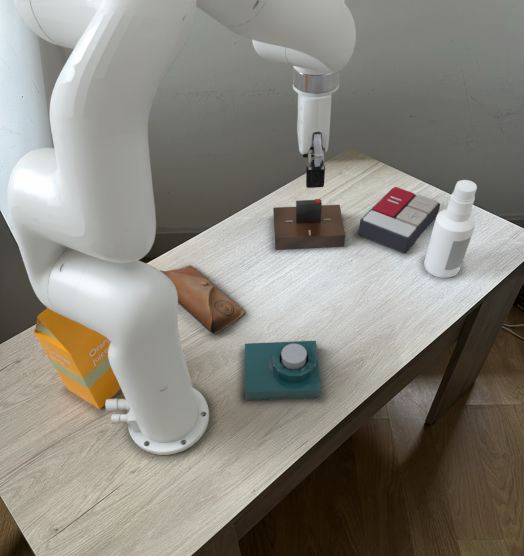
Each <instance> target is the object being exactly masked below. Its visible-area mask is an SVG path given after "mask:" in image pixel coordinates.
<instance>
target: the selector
mask: <svg viewBox="0 0 524 556" xmlns="http://www.w3.org/2000/svg"><path fill="white" fill-rule="evenodd" d="M272 211H273V235H274V237H273V238H274V250H276V251H277V250H301V249H302V250H303V249H323V248H344V247H345V243H346V230H345V226H344V220H343V214H342V210H341V205H340V204H322V209H321V222H311V223H296V206H280V207H273V208H272Z"/></svg>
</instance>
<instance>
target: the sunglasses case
mask: <svg viewBox="0 0 524 556" xmlns="http://www.w3.org/2000/svg"><path fill="white" fill-rule="evenodd" d="M159 271H161V272H163V273H164V274H165V275H166V276H167V277H169V278H170V280H171V281H172V282H173V284H174V285H175V287H176V290H177V295H178V305H179V306H181V307H182V308H183V309H184V310H185V311H187V312H188V314H190V315H191V317H193V318H194V319H195V320H196V321H198V323H199V324H201V325H202V326H203V328H205V329H206V330H207V331H208V332H209V333H211V334H213V335H218V334H220V333H221V332H223V331H224V330H226V329H228V328H229V327H230V326H231V325H233V324H234V323H235V322H237V321H239V320H240V319H241V318H242V317H243V316H244V315H245V314H246V313H245V310H244V309H243V308H242V307H241V306H240V305H239V304H238V303H236V302H235V301H234V300H233V299H232V298H230V297H229V296H228V295H227V294H226V293H225V292H223V291H222V290H221V289H220V288H218V287H217V286H216V285H215V284H214V283H213V282H211V280H209V279H208V278H207V277H206V276H205V275H204V274H202V273H201V272H200V271H199V270H198V269H196V267H194V266H193V265H190V264H189V265H187V266H186V267H179V268H175V269H170V270H159Z"/></svg>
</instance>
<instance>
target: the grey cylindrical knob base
mask: <svg viewBox="0 0 524 556" xmlns="http://www.w3.org/2000/svg"><path fill="white" fill-rule="evenodd" d="M289 344H299V345H301V346H303V347H304V348H305V349H306V352H307V360H306V364H305V365H304V366H303V367H302V368H300V369H297V370H291V369H288V368H286V367H285V366H284V365H283V364H282V359H281V352H282V350H283V348H284V347H285V346H287V345H289ZM244 398H245V401H259V400H264V401H265V400H285V399H311V398H322V384H321V374H320V364H319V356H318V346H317V340H299V341H296V340H295V341H275V342H274V341H273V342H252V343H249V342H248V343H244Z"/></svg>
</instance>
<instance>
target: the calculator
mask: <svg viewBox="0 0 524 556" xmlns="http://www.w3.org/2000/svg"><path fill="white" fill-rule="evenodd" d="M440 208H441V203H439V201H438V200H435V199H432V198H429V197H426V196H423V195H420V194H415V193H414V192H412V191H409V190H406V189H403V188H401V187H398V186H394V187H392V188H391V189H390V190H389V191H388V192H387V193H386V194H385V195H384V196H383V197H382V198H381V199H379V201H377V203H376V204H375V205H374V206H372V208H371V209H370V210H368V211H367V212H366V213H365V215H363V217H361V218H360V220H359V224H358V230H357V231H358V232H357V235H358V236H360V237H362V238H364V239H367V240H369V241H372V242H374V243H376V244H379V245H383V246H385V247H387V248H389V249H392V250H395V251H396V252H399V253H402V254H407V253H408V252H409V251H410V250H411V249H412V248H413V247H414V245H415V244H416V242H417V240H418V239H419V238H420V237H421V236H422V234H423V233H424V232H425V231H426V230H427V229H428V227H429V226H430V225H431V224H432V223H433V222H434V221H435V220H436V216H437V214H438V213H439V212H440V211H439V210H440Z"/></svg>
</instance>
